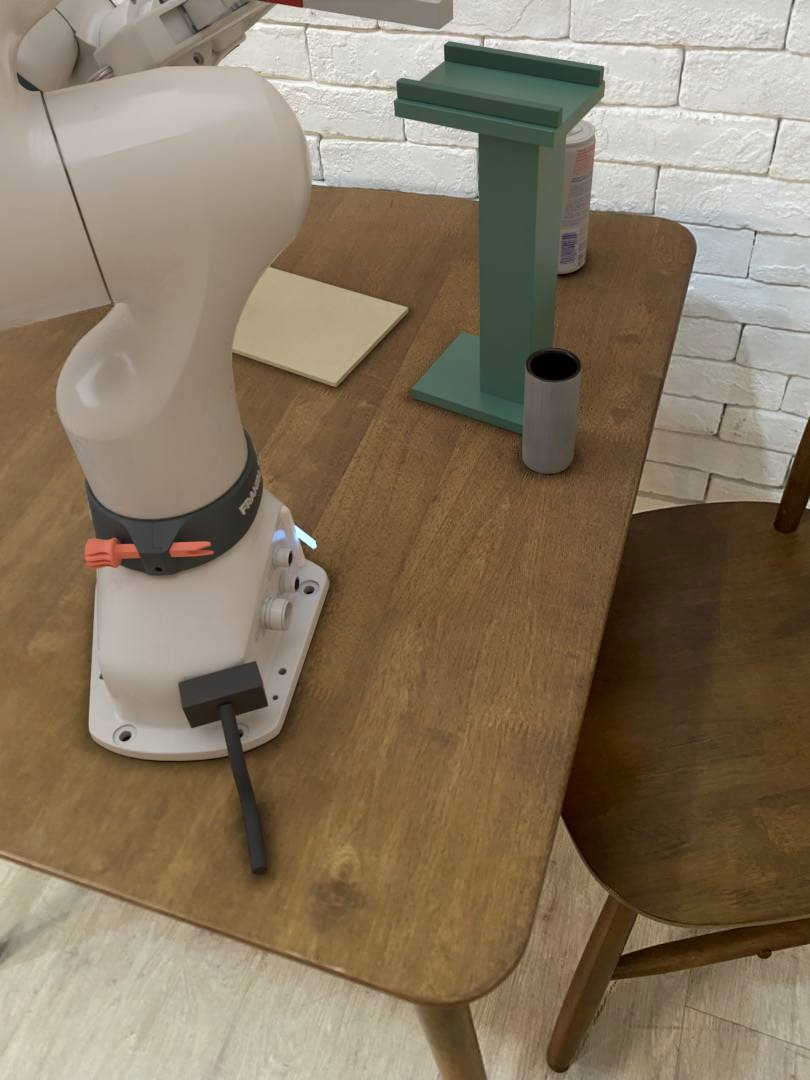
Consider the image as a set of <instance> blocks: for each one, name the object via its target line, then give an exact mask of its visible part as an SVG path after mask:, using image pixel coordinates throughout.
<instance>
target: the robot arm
mask: <svg viewBox="0 0 810 1080" xmlns="http://www.w3.org/2000/svg"><path fill="white" fill-rule="evenodd" d="M277 5H278V4H275V3H269V2H263V1H256V0H122V1H121V2H120V3H119V4H118V5H116V4H115V2H114V1H113V0H0V333H3V332H8V331H11V330H14V329H18V328H22V327H27V326H30V325H34V324H37V323H42V322H45V321H49V320H53V319H56V318H60V317H64V316H68V315H71V314H76V313H79V312H83V311H88V310H91V309H95V308H99V307H102V306H106V305H110V304H112V302H113V304H114V306H113V307H112V308H111V310H110V311H108V313H107V315H105V316H104V317H103V319H101V320H100V321H99V322H98V323H97V324H96V325H94V326H93V327H92V328H91V329H90V330H89V331H88V332H87V333H86V334H85V335H84V336H82V337H81V339H79V340H78V342H77V343H76V344H75V345H74V346H73V348H72V349H71V351H70V353H69V354H68V356H67V358H66V360H65V362H64V364H63V366H62V369H61V371H60V373H59V376H58V379H57V382H56V389H55V406H56V412H57V415H58V418H59V420H60V422H61V424H62V427H63V430H64V432H65V434H66V436H67V438H68V440H69V443H70V445H71V447H72V449H73V452H74V454H75V456H76V458H77V461H78V463H79V465H80V467H81V470H82V472H83V475H84V486H85V491H86V492H85V493H86V503H87V507H88V514H89V517H90V518H89V519H90V521H92V524H93V529H94V534H95V538H94V537H92V538H88V539H87V542H86V543H85V547H84V559H85V562H86V565H87V567H88V568H89V569H92V570H96V584H95V591H94V607H93V608H94V609H93V625H92V626H93V628H92V647H91V648H92V649H91V667H90V668H91V669H90V684H89V685H90V688H89V707H88V732H89V734H90V736H91V739H92V740H93V741H94V742H95V743H96V744H98V745H99V746H101V747H103V748H104V749H106V750H108V751H110V752H113V753H115V754H117V755H122V756H125V757H128V758H135V759H140V760H147V761H149V760H150V761H161V762H163V761H164V762H166V761H167V762H182V761H184V762H185V761H202V760H209V759H219V758H224V757H228V758H229V763H230V768H231V772H232V775H233V776H232V777H233V779H234V782H235V786H236V789H237V793H238V797H239V802H240V806H241V811H242V815H243V821H244V826H245V832H246V839H247V846H248V852H249V853H248V854H249V860H250V867H251V873H252V874H253V875H261V874H264V873H266V872H267V871H268V863H267V858H266V851H265V845H264V840H263V838H264V837H263V833H262V826H261V822H260V821H261V820H260V816H259V810H258V806H257V801H256V797H255V792H254V789H253V786H252V783H251V778H250V774H249V770H248V766H247V762H246V758H245V752H248V751H250V750H252V749H255V748H257V747H259V746H261V745H264V744H265V743H268V742H269V741H271V740H272V739H274V738H276V737H277V736H278V735H279V734H280V733H281V730H282V729H283V726H284V723H285V721H286V718H287V715H288V713H289V712H288V711H289V708H290V705H291V703H292V699H293V696H294V693H295V691H296V688H297V686H298V685H297V684H298V682H299V679H300V676H301V673H302V670H303V667H304V664H305V661H306V657H307V655H308V652H309V650H310V649H309V648H310V646H311V643H312V639H313V637H314V633H315V631H316V629H317V625H318V622H319V619H320V616H321V613H322V611H323V606H324V604H325V600H326V597H327V595H328V592H329V589H330V579H329V576H328V574H327V572H326V570H325V569H324V568H323V567H321V566H319V564H316V563H315V562H313V561H311V560H310V559H307V558H306V557H305V553H304V550H303V547H302V544H301V541H302V542H304V543H305V544H306V545H308V546H309V547H310V548H312V549H313V550H315V549H316V548H317V543H316V540H314V539H313V537H311V536H310V535H308V534H307V533H306V532H304V531H303V530H302V529H301V528H299V527H298V526H297V525H295V522H294V519H293V515H292V513H291V510H290V508H289V507H287V506H286V505H285V503H283V501H281V500H280V499H278V498H277V497H276V496H275V495H274V494H273V493H272V492H271V491H270V490H269V489H268V488H267V487H266V486H265V484H264V479H263V475H262V466H261V461H260V457H259V455H258V451H257V449H256V447H255V446H254V443H253V440H252V438H251V436H250V434H249V433H248V431H247V430H246V429H245V428H244V427H243V422H242V419H241V418H242V417H241V414H240V410H239V405H238V398H237V392H236V385H235V377H234V371H233V352H232V350H233V343H234V338H235V333H236V330H237V327H238V323H239V320H240V318H241V315H242V313H243V310H244V307H245V305H246V303H247V301H248V299H249V297H250V295H251V293H252V291H253V290H254V288H255V286H256V285H257V283H258V281H259V280H260V278H261V277H262V275H263V274H264V273H265V271H266V270H267V269H268V267H271V265H272V264H273V263H274V261H275V260H276V259H277V258H278V257H279V256H280V255H281V254H282V252H283V251H285V250H286V248H288V247H289V246H290V245H291V244H292V243H293V242H294V240H295V239H296V237H297V236H298V235H299V232H300V231H301V229H302V227H303V224H304V222H305V219H306V217H307V214H308V211H309V207H310V202H311V197H312V190H313V165H312V164H313V163H312V156H311V152H310V147H309V143H308V140H307V136H306V135H305V132H304V129H303V127H302V124H301V122H300V120H299V118H298V116H297V115H296V113H295V111H294V109H293V108H292V106H291V105H290V104H289V102H288V101H287V99H286V98H285V97H284V96H283V94H281V92H280V91H279V90H278V89H277V88H276V87H275V86H274V85H273V84H272V82H270V81H268V80H267V79H266V78H265V77H264V76H263V75H261V74H260V73H258V72H257V71H255V70H254V69H253V68H251V67H248V66H229V65H228V66H225V65H223V66H222V65H219V64H220V63H221V62H222V60H224V59H225V58H226V57H227V56H228V55H229V54H231V52H233V51H234V50H235V49H237V48H238V47H239V46H240V45H241V44H243V43H244V42H245V41H246V40H247V34H246V32H247V31H249V30H250V29H252V27H253V26H254V25H256V24H257V23H258V22H260V20H261V19H263V17H265V16H266V15H267V14H268V13H269V12H270V11H271V10H272V9H273V8H275V7H276V6H277ZM300 540H301V541H300ZM310 592H312V593H310ZM307 593H309V594H307ZM241 735H242V736H241ZM127 737H129V739H128V740H126V741H123V740H125V739H126V738H127Z"/></svg>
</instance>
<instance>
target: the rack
mask: <svg viewBox="0 0 810 1080" xmlns="http://www.w3.org/2000/svg"><path fill="white" fill-rule="evenodd" d="M604 75H605V66H604V65H600V64H599V65H598V64H593V63H586V62H581V61H576V60H575V61H574V60H569V59H561V58H555V57H550V56H543V55H538V54H530V53H525V52H519V51H513V50H507V49H501V48H493V47H488V46H482V45H475V44H470V43H469V44H468V43H463V42H457V41H451V40H448V41H447V42H445V43H444V44H443V62H441V63H440V64H438V65H437V66H436V67H435V68H434V69H432V70H431V71H429V72H428V73H427V74H426V75H425V76H423V77H422V78H421V79H420V80H417V79H412V78H407V77H400V78H399V79H397V80H396V82H395V84H396V99H394V100H393V110H394V111H393V112H394V117H396V118H401V119H406V120H410V121H416V122H420V123H426V124H429V125H434V126H435V125H436V126H441V127H445V128H451V129H455V130H460V131H466V132H470V133H475V134H477V136H478V137H477V143H478V145H477V146H478V147H477V148H478V149H477V150H478V153H477V156H478V157H477V159H478V160H477V161H478V284H479V285H478V291H479V292H478V293H479V294H478V296H479V297H478V299H479V302H478V304H479V305H478V307H479V309H478V311H479V312H478V313H479V315H478V316H479V336H478V335H475V334H471V333H468V332H465V331H460V333H459V334H458V335H456V337H455V338H454V340H453V341H452V342H451V343H450V344H449V345H448V346H447V347H446V348H445V350H444V351H443V352H442V353H441V354H440V355H439V356H438V358H437V359H436V360H435V361H434V362H433V364H431V366H429V368H428V369H427V370H426V371H425V372H424V374H423V375H422V376H420V378H419V379H418V381H416V383H415V384H414V385H413V386H412V387H411V397H412V399H414V400H418V401H420V402H423V403H426V404H429V405H432V406H435V407H439V408H442V409H445V410H447V411H450V412H453V413H456V414H459V415H463V416H465V417H468V418H471V419H475V420H477V421H480V422H484V423H487V424H489V425H492V426H494V427H495V426H496V427H498V428H501V429H504V430H507V431H510V432H512V433H517V434H519V435H522V436H523V411H524V386H525V364H526V361H527V359H528V357H529V356H530V355H531V354H533V353H534V352H536V351H538V350H541V349H545V348H554V347H553V346H554V335H555V334H554V332H555V317H556V302H557V301H556V300H557V287H558V286H557V285H558V284H557V283H558V274H557V272H558V256H559V240H560V225H561V209H562V194H563V178H564V163H565V147H566V135H567V134H568V133H569V132H570V131H571V130H572V129H573V128H574V127H575V126H576V125H577V124H578V123H579V122H580V121H581V120H584V118H585V117H586V116H587V115H588V113H590V112H591V110H592V109H594V107H595V106H596V105H598V103H599V102H601V100H602V99H603V98H604V97H605V93H606V92H605V91H606V80H604Z"/></svg>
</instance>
